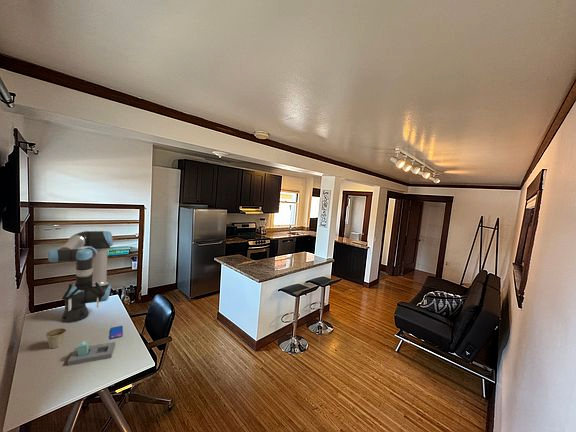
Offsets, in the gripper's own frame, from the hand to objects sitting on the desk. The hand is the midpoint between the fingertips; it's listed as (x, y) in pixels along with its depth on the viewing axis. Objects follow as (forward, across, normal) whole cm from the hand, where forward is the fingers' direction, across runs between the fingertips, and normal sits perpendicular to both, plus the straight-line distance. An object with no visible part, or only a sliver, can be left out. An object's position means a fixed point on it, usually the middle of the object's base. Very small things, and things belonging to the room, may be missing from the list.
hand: (84, 308), depth 149 cm
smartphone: (+26, +15, +10) cm, 32 cm away
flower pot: (+26, -15, +6) cm, 30 cm away
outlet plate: (+25, +7, -12) cm, 28 cm away
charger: (+24, +2, -12) cm, 27 cm away
